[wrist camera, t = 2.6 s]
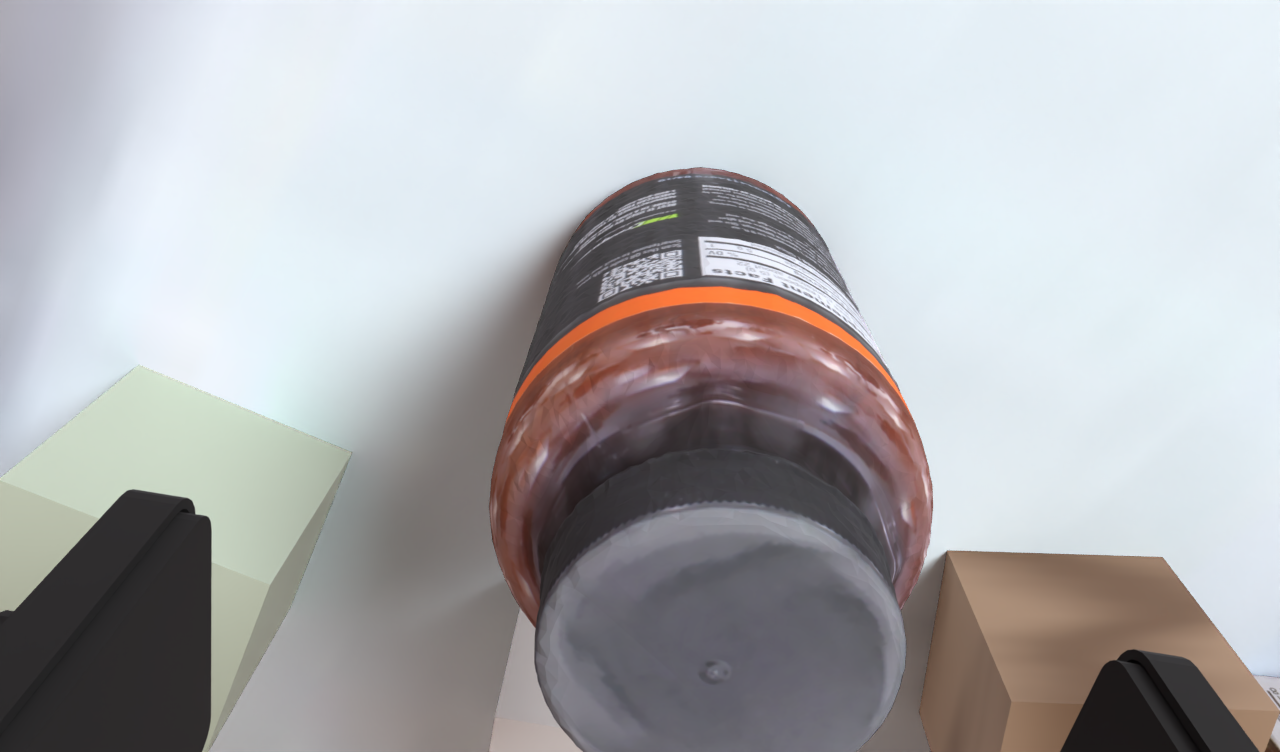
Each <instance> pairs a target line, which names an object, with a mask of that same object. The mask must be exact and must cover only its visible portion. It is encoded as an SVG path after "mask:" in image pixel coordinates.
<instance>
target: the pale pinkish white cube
mask: <svg viewBox="0 0 1280 752" xmlns="http://www.w3.org/2000/svg"><path fill="white" fill-rule="evenodd" d="M535 629H536V628H535V627H534V626H533V625H532V623H531V622H530V621H529V619H528V618H527V616H526V615H525V614H524V612H523V611H522V610H521V608H520V609H519V614H518V618H517V622H516V627H515V631H514V635H513V640H512V644H511V648H510V653H509V657H508V661H507V665H506V670H505V674H504V678H503V683H502V687H501V691H500V696H499V700H498V704H497V709H496V713H495V717H494V724H493V730H492V736H491V742H490V748H489V752H583V751H582V750H581V749H579V748H578V747H577V746H576V745H575V744H574V742H573V741H572V740H571V739H570V738H569V737H568V735H567V734H566V733H565V732H564V731H563V730H562V728H561V727H560V726H559V725H558V723H557V722H556V720H555V719H554V717H553V715H552V713H551V711H550V710H549V708H548V706H547V704H546V703H545V700H544V697H543V694H542V691H541V689H540V686H539V683H538V679H537V673H536V670H535V664H534V647H535Z"/></svg>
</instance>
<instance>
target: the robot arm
mask: <svg viewBox="0 0 1280 752" xmlns="http://www.w3.org/2000/svg"><path fill="white" fill-rule="evenodd" d="M211 577H212V528H211V521H210V519H209V517H207V516H204V515H198V514H195V506H194V504H193V501H192V500H190V499H189V498H185V497H179V496H173V495H166V494H160V493H154V492H148V491H141V490H135V489H132V490H127V491H126V492H125V493H123V494H122V495H121V496H120V497H119V498H118V499H117V500H116V501H115V502H114V503H113V505H112V506H111V507H110V508H109V509H108V510H107V511H106V512H105V513H104V514H103V515H102V516H101V518H100V519H99V520H98V521H97V522H96V523H95V524H94V525H93V526H92V527H91V528H90V529H89V531H88V532H87V533H86V534H85V535H84V536H83V537H82V538H81V539H80V540H79V541H78V542H77V544H76V545H75V546H74V547H73V548H72V549H71V550H70V551H69V552H68V553H67V554H66V555H65V557H64V558H63V559H62V560H61V561H60V562H59V563H58V564H57V565H56V566H55V567H54V568H53V570H52V571H51V572H50V573H49V574H48V575H47V576H46V577H45V578H44V579H43V580H42V581H41V583H40V584H39V585H38V586H37V587H36V588H35V589H34V590H33V591H32V592H31V593H30V594H29V595H28V597H27V598H26V599H25V600H24V601H23V602H22V603H21V604H20V605H19V606H18V607H17V608H16V610H15V611H10V610H5V611H2V612H0V752H202V751H203V748H204V745H205V743H206V740H207V736H208V732H209V728H210V722H211ZM1060 752H1259V750H1258V749H1257V748H1256V746H1255V745H1254V744H1253V742H1252V741H1251V739H1250V738H1249V737H1248V735H1247V734H1246V733H1245V731H1244V730H1243V729H1242V727H1241V726H1240V725H1239V723H1238V722H1237V721H1236V719H1235V718H1234V716H1233V715H1232V714H1231V712H1230V711H1229V710H1228V708H1227V707H1226V706H1225V704H1224V703H1223V702H1222V700H1221V699H1220V697H1219V696H1218V695H1217V693H1216V692H1215V691H1214V689H1213V688H1212V687H1211V685H1210V684H1209V683H1208V681H1207V680H1206V678H1205V677H1204V676H1203V674H1202V673H1201V672H1200V670H1199V669H1198V668H1197V667H1196V666H1195V665H1194V664H1193V663H1192V662H1191V661H1190V660H1189V659H1186V658H1184V657H1180V656H1174V655H1168V654H1161V653H1155V652H1149V651H1142V650H1136V649H1132V650H1127V651H1125V652H1124V653H1122V654H1121V655H1120V656H1119V658H1118V659H1117V660H1112V661H1109V662H1107V663H1106V664H1104V666H1103V667H1102V669H1101V670H1100V672H1099V674H1098V676H1097V678H1096V680H1095V682H1094V684H1093V686H1092V689H1091V691H1090V693H1089V695H1088V697H1087V699H1086V701H1085V703H1084V705H1083V707H1082V709H1081V711H1080V713H1079V715H1078V717H1077V719H1076V721H1075V723H1074V725H1073V727H1072V729H1071V731H1070V733H1069V735H1068V737H1067V739H1066V741H1065V743H1064V745H1063V747H1062V749H1061V751H1060Z"/></svg>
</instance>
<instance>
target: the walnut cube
mask: <svg viewBox="0 0 1280 752" xmlns="http://www.w3.org/2000/svg"><path fill="white" fill-rule="evenodd" d="M1132 649H1136V650H1142V651H1149V652H1155V653H1161V654H1168V655H1174V656H1180V657H1184V658H1186V659H1189V660H1190V661H1191V662H1192V663H1193V664H1194V665H1195V666H1196V667H1197V668H1198V669H1199V670H1200V672H1201V673H1202V674H1203V676H1204V677H1205V678H1206V680H1207V681H1208V683H1209V684H1210V685H1211V687H1212V688H1213V689H1214V691H1215V692H1216V693H1217V695H1218V696H1219V697H1220V699H1221V700H1222V702H1223V703H1224V704H1225V706H1226V707H1227V708H1228V710H1229V711H1230V712H1231V714H1232V715H1233V716H1234V718H1235V719H1236V721H1237V722H1238V723H1239V725H1240V726H1241V727H1242V729H1243V730H1244V731H1245V733H1246V734H1247V735H1248V737H1249V738H1250V739H1251V741H1252V742H1253V744H1254V745H1255V746H1256V748H1257V749H1258V750H1259V752H1265V750H1266V747H1267V744H1268V742H1269V739H1270V736H1271V734H1272V731H1273V729H1274V726H1275V723H1276V721H1277V718H1278V715H1279V713H1280V710H1279V709H1278V708H1277V706H1276V705H1275V704H1274V703H1273V701H1272V700H1271V699H1270V697H1269V696H1268V695H1267V693H1266V692H1265V691H1264V689H1263V688H1262V687H1261V686H1260V684H1259V683H1258V682H1257V680H1256V679H1255V678H1254V676H1253V675H1252V674H1251V672H1250V671H1249V670H1248V668H1247V667H1246V666H1245V665H1244V663H1243V662H1242V661H1241V659H1240V658H1239V657H1238V655H1237V654H1236V653H1235V651H1234V650H1233V649H1232V647H1231V646H1230V645H1229V644H1228V642H1227V641H1226V640H1225V638H1224V637H1223V636H1222V634H1221V633H1220V632H1219V630H1218V629H1217V628H1216V627H1215V625H1214V624H1213V623H1212V621H1211V620H1210V619H1209V617H1208V616H1207V615H1206V613H1205V612H1204V611H1203V609H1202V608H1201V607H1200V606H1199V604H1198V603H1197V602H1196V600H1195V599H1194V598H1193V596H1192V595H1191V594H1190V592H1189V591H1188V590H1187V588H1186V587H1185V586H1184V585H1183V583H1182V582H1181V581H1180V579H1179V578H1178V577H1177V575H1176V574H1175V573H1174V571H1173V570H1172V569H1171V568H1170V566H1169V565H1168V564H1167V562H1166V561H1165V560H1164V558H1163V557H1141V556H1109V555H1076V554H1044V553H1011V552H978V551H947V554H946V560H945V566H944V571H943V577H942V583H941V589H940V594H939V600H938V606H937V612H936V617H935V623H934V629H933V635H932V640H931V646H930V652H929V658H928V663H927V669H926V675H925V681H924V686H923V692H922V698H921V704H920V709H919V714H920V717H921V720H922V724H923V727H924V730H925V734H926V737H927V740H928V743H929V747H930V750H931V752H1060V751H1061V749H1062V747H1063V745H1064V743H1065V741H1066V739H1067V737H1068V735H1069V733H1070V731H1071V729H1072V727H1073V725H1074V723H1075V721H1076V719H1077V717H1078V715H1079V713H1080V711H1081V709H1082V707H1083V705H1084V703H1085V701H1086V699H1087V697H1088V695H1089V693H1090V691H1091V689H1092V686H1093V684H1094V682H1095V680H1096V678H1097V676H1098V674H1099V672H1100V670H1101V669H1102V667H1103V666H1104V664H1106V663H1107V662H1109V661H1112V660H1117V659H1118V658H1119V656H1120V655H1121V654H1122V653H1124V652H1125V651H1127V650H1132Z"/></svg>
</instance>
